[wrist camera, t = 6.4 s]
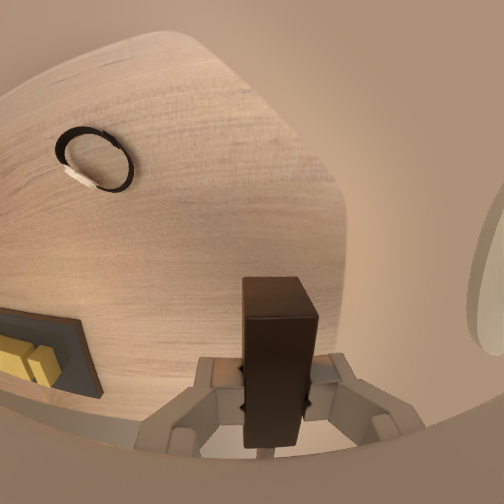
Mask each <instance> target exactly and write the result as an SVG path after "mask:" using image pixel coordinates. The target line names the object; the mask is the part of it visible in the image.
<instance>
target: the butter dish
mask: <svg viewBox="0 0 504 504" xmlns="http://www.w3.org/2000/svg"><path fill="white" fill-rule="evenodd" d="M0 335H3V336H7V337H10V338H14V339H18V340H22V341H26V342H30V343H33V345H34V348H35V350H36V349H37V348H38V347H39V345H43V346H48V347H52V348H53V350H54V353H55V356H56V359H57V361H58V364H59V366H60V369H61V371H62V373H61V374H60V375H59V377H58V378H57V380H56V381H55V382H54V384H53V385H52V388H56V389H59V390H63V391H67V392H71V393H75V394H79V395H83V396H88V397H92V398H97V399H100V398H101V396H102V395H103V391H102V388H101V385H100V383H99V380H98V377H97V374H96V371H95V369H94V366H93V363H92V360H91V356H90V353H89V350H88V347H87V343H86V340H85V337H84V333H83V329H82V326H81V322H80V320H74V319H66V318H59V317H51V316H45V315H38V314H32V313H26V312H20V311H14V310H9V309H4V308H0ZM32 382H36V383H38V382H37V380H36V378H35V377H34V378H33V379H32Z"/></svg>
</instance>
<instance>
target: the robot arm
mask: <svg viewBox="0 0 504 504" xmlns="http://www.w3.org/2000/svg"><path fill="white" fill-rule="evenodd" d="M306 393H307V394H306V399H305V400H304V404H303V410H302V416H303V419H304V421H316V420H326V419H328V421H329V422H330V423H332V424H333V425H334V426H335V427H336V428H337V429H338V430H340V431H341V432H342V433H343V434H344V435H346V436H347V437H348V438H349V439H350V440H352V441H353V442H354V443H355V444H356V445H358V446H357V447H353V448H347V449H342V450H336V451H331V452H324V453H317V454H309V455H301V456H291V457H278V458H259V459H217V458H201V454H200V448H201V447H202V446H203V445H204V444H205V443H206V441H207V440H208V439H209V438H210V437H211V436H212V434H213V433H214V432H215V431H216V430H217V428H218V427H219V425H244V373H243V358H218V357H215V358H214V357H200V358H199V360H198V365H197V370H196V376H195V381H194V386H193V387H188V388H187V389H186V390H184V391H183V392H182V393H180V394H179V395H178V396H176V397H175V398H174V399H172V400H171V401H170V402H169V403H167V404H166V405H164V406H163V407H162V408H160V409H159V410H158V411H156V412H155V413H154V414H152V415H151V416H149V417H148V418H147V419H145V420H144V421H143V422H142V423H141V426H140V429H139V432H138V435H137V439H136V442H135V445H134V448H133V449H129V448H124V447H118V446H114V445H110V444H106V443H102V442H98V441H94V440H90V439H86V438H83V437H80V436H76V435H73V434H70V433H67V432H64V431H61V430H58V429H55V428H52V427H49V426H46V425H44V424H41V423H38V422H36V421H34V420H31V419H29V418H26V417H24V416H22V415H19V414H17V413H15V412H13V411H11V410H9V409H6V408H4V407H2V406H0V504H504V393H502V394H500V395H498V396H496V397H494V398H493V399H491V400H489V401H487V402H485V403H483V404H481V405H479V406H476V407H474V408H472V409H470V410H468V411H466V412H463V413H461V414H459V415H457V416H454V417H452V418H449V419H447V420H444V421H442V422H439V423H437V424H434V425H431V426H428V427H426V426H425V425H424V423H423V422H422V420H421V418H420V417H419V415H418V414H417V412H416V411H415V409H414V408H413V406H412V405H410V404H408V403H406V402H404V401H402V400H400V399H398V398H396V397H394V396H392V395H390V394H388V393H386V392H384V391H382V390H380V389H379V388H377V387H375V386H373V385H371V384H369V383H367V382H365V381H364V380H362V379H358V380H357V378H356V376H355V375H354V373H353V371H352V369H351V367H350V365H349V364H348V362H347V360H346V358H345V356H344V354H343V353H333V354H328V355H316V356H313V360H312V366H311V372H310V376H309V377H308V382H307V388H306Z"/></svg>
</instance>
